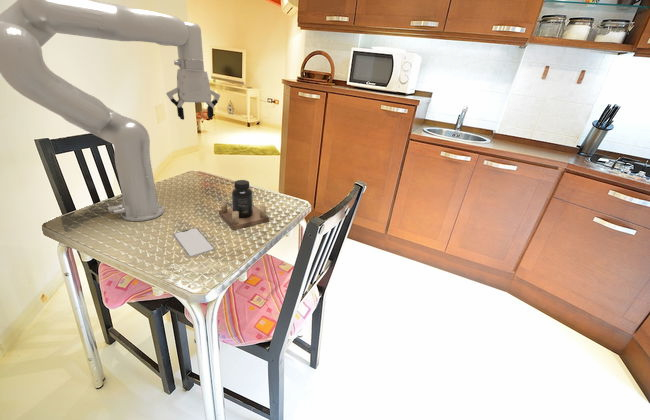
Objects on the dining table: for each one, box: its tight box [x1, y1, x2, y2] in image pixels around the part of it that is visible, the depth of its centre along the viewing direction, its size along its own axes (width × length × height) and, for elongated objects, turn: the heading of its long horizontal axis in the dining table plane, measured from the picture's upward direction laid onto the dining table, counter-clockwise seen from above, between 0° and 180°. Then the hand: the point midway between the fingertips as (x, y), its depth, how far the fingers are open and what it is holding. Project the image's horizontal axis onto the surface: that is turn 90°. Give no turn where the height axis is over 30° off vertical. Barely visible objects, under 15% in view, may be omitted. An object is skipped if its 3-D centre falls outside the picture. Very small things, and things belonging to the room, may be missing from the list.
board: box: [218, 199, 270, 231], centre depth 103 cm, size 13×13×6 cm
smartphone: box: [172, 227, 215, 258], centre depth 88 cm, size 7×1×15 cm
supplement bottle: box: [231, 179, 254, 218], centre depth 101 cm, size 7×7×12 cm
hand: (196, 118), depth 105 cm, fingers open, 9 cm apart
